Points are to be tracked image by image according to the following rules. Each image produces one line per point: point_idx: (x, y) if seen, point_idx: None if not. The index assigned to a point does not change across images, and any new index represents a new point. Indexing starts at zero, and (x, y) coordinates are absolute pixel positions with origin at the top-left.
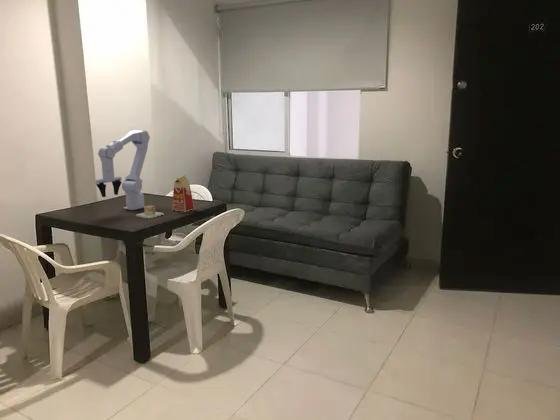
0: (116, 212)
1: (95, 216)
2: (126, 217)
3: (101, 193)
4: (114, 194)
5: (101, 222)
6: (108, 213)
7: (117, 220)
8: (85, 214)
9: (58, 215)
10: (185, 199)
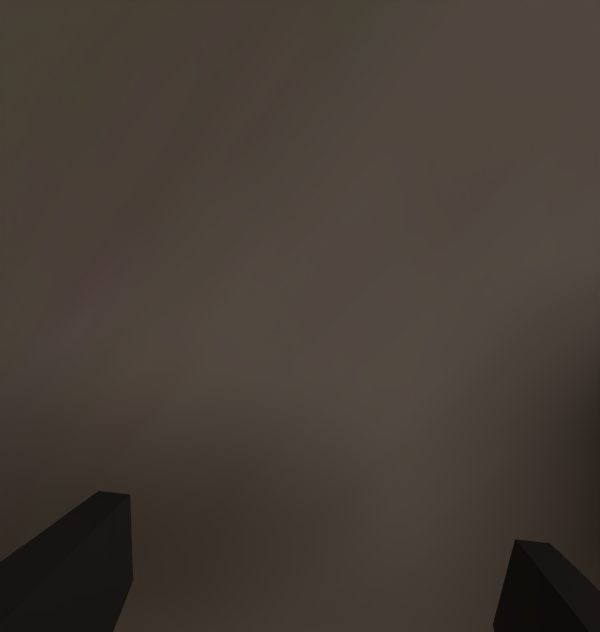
0: (433, 342)
1: (121, 282)
2: (290, 611)
3: (25, 566)
4: (516, 541)
5: (3, 550)
6: (334, 293)
7: (150, 619)
8: (107, 34)
9: None
10: None
